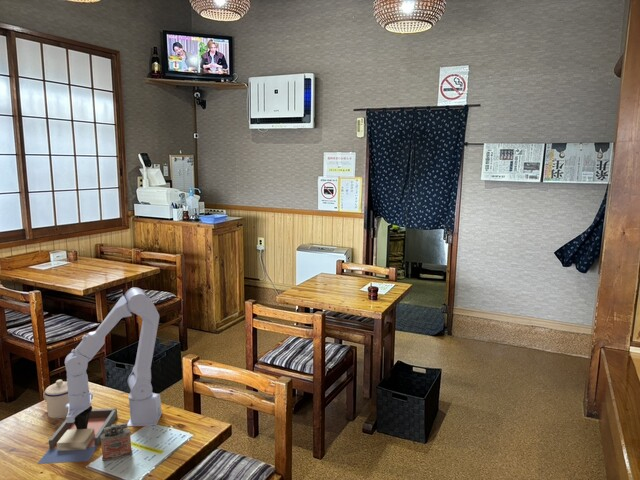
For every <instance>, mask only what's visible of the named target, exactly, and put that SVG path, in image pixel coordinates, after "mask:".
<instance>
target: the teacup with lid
mask: <svg viewBox="0 0 640 480" xmlns="http://www.w3.org/2000/svg"><path fill="white" fill-rule="evenodd" d="M42 395H43V396H42V397H43V400H44V402H45V403H46V409H47V416H48V418H50V419H60V418H66V417H67V415H68V409H69V408H66V405H67V404H68V403H69V397H68V387H67V381H65V380H64V381H63V379H57V380H56V381H55V383H52V384H51V385H49V386H48V387H46V388H45V390H44V392H43V394H42Z"/></svg>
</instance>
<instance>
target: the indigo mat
mask: <svg viewBox="0 0 640 480" xmlns="http://www.w3.org/2000/svg"><path fill="white" fill-rule="evenodd" d="M98 447H99V446H90V447H87V448H86V449H84V450H63V451H58V450H57V448H48V450H47V451H46V452H45V453H44V455H43V456H42V457H41V458H40V460H39V461H38V462H37V465H43V464H59V463H63V464H64V463H78V462H79V463H80V462H81V463H82V462H89V461H90V459H91V458H92V457H93V455H94V453H95V452H96V450H97V448H98Z"/></svg>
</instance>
